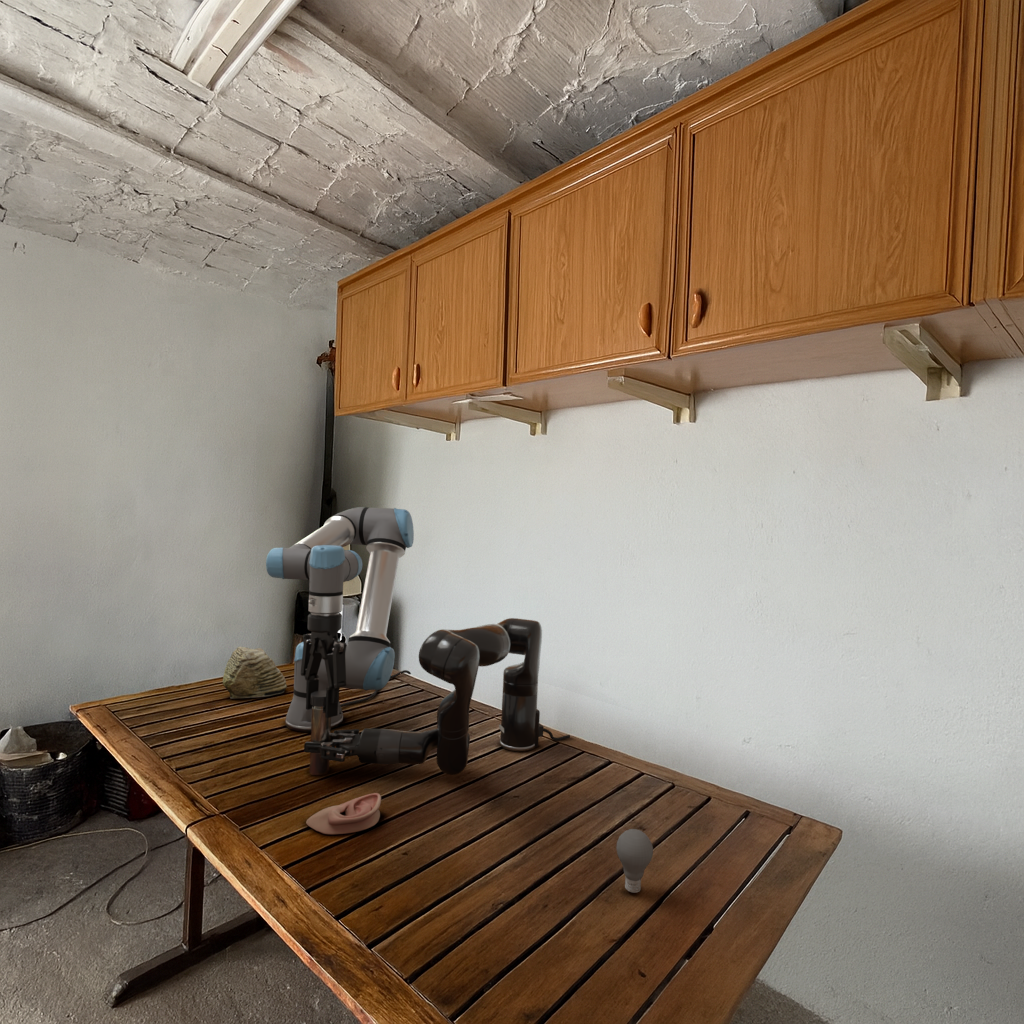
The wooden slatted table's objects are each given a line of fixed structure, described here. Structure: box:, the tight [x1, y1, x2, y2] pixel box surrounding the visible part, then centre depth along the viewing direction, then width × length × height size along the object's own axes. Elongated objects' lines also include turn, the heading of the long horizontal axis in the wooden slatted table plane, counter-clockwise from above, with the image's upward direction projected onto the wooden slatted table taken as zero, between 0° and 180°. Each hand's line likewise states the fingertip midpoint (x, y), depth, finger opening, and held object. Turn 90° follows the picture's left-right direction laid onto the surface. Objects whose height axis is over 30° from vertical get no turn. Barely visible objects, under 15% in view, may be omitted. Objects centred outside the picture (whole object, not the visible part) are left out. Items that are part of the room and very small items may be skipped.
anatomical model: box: [305, 792, 382, 835], centre depth 124 cm, size 13×4×12 cm
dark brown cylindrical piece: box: [309, 706, 332, 776], centre depth 146 cm, size 4×4×17 cm
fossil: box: [222, 646, 288, 699], centre depth 198 cm, size 9×18×15 cm, turn 132°
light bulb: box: [615, 828, 654, 894], centre depth 106 cm, size 6×6×10 cm
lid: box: [310, 690, 326, 707], centre depth 146 cm, size 5×5×2 cm
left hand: (321, 712), depth 146 cm, fingers open, 7 cm apart
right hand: (308, 742), depth 146 cm, fingers closed on dark brown cylindrical piece, 4 cm apart
